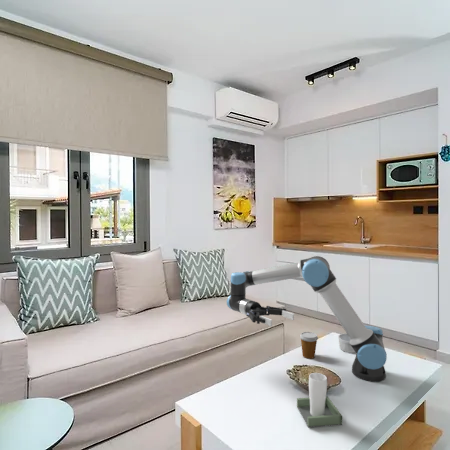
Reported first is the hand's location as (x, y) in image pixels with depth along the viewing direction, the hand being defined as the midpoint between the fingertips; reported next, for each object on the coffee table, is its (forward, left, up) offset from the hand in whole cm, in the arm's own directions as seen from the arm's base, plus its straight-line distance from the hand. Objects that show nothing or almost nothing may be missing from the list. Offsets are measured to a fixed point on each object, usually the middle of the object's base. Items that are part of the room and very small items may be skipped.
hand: (282, 319), depth 145 cm
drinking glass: (-9, +18, -32) cm, 37 cm away
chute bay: (-9, +18, -32) cm, 38 cm away
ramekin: (-51, -39, -32) cm, 72 cm away
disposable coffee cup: (-24, -33, -32) cm, 52 cm away
